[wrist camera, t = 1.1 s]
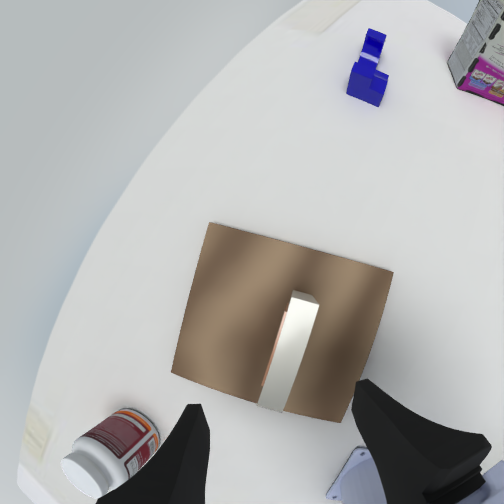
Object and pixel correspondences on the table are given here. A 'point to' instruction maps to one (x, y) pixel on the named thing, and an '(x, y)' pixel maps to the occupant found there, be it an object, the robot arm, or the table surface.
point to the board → (278, 319)
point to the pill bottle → (110, 453)
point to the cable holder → (369, 71)
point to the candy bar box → (481, 53)
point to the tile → (288, 350)
